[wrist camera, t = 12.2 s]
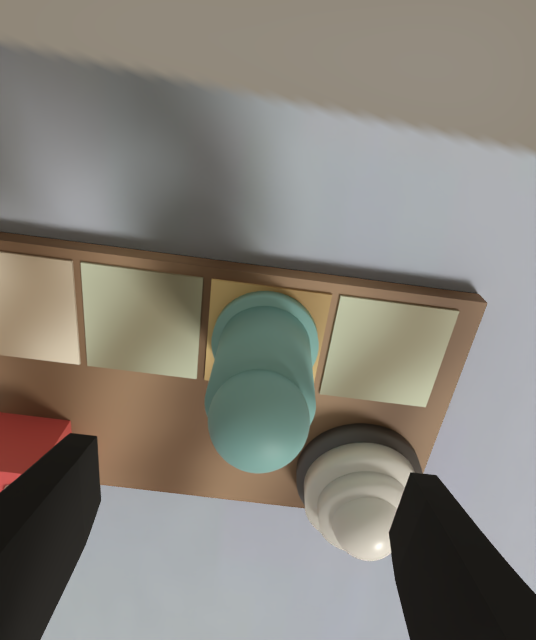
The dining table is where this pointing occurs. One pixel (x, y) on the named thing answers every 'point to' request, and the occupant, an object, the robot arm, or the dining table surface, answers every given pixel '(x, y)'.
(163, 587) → the dining table surface
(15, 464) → the red die
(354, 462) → the dome
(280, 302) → the pawn
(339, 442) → the game board
